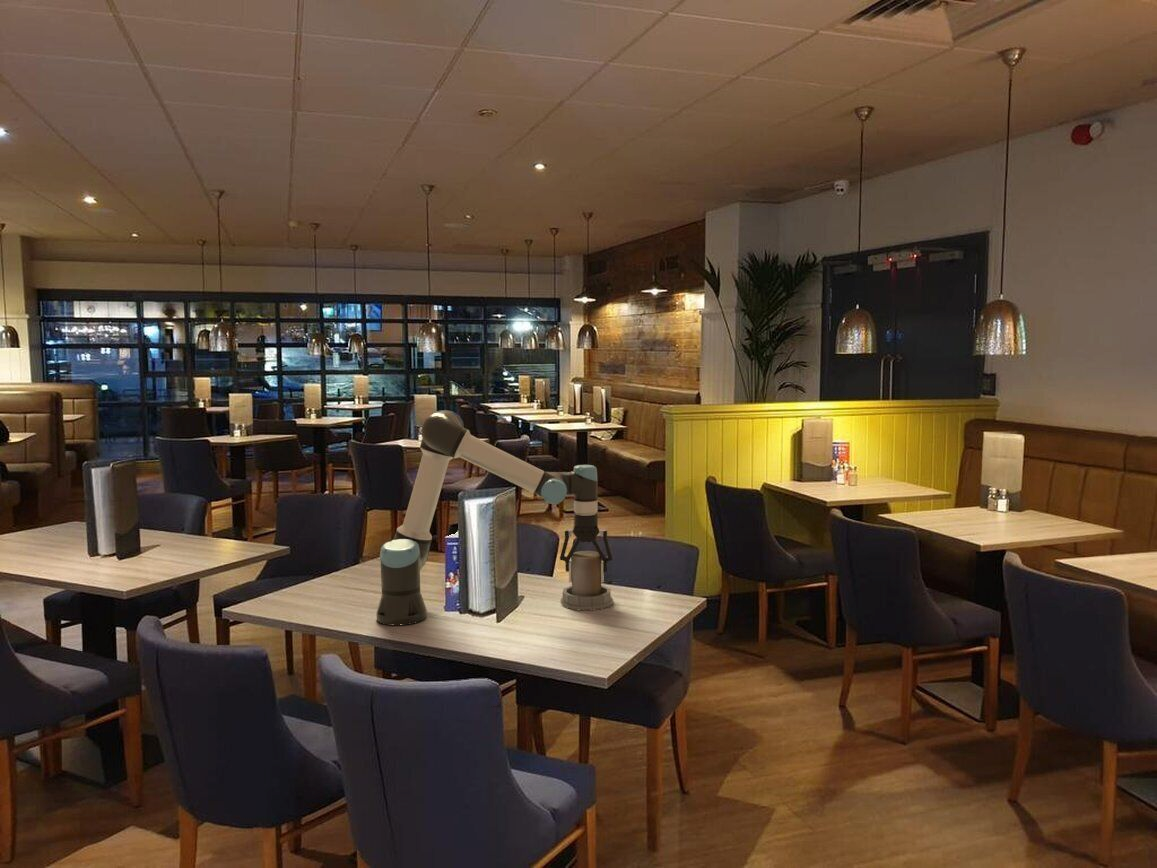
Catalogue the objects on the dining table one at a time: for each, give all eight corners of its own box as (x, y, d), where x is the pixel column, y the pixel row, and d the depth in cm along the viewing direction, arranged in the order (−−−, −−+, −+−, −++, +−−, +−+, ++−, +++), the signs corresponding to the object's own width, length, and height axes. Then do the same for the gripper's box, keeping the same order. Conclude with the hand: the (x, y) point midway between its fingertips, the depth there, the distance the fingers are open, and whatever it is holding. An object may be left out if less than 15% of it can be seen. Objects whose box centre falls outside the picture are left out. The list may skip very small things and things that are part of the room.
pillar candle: (602, 591, 278) (601, 546, 277) (600, 600, 268) (599, 553, 267) (573, 591, 279) (572, 546, 278) (570, 599, 269) (569, 553, 268)
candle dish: (612, 610, 265) (612, 598, 264) (558, 610, 266) (558, 597, 265) (613, 595, 282) (613, 583, 281) (562, 595, 283) (562, 583, 282)
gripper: (620, 511, 274) (620, 578, 276) (552, 511, 275) (553, 578, 277) (620, 515, 267) (620, 584, 269) (550, 515, 268) (551, 584, 270)
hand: (586, 581), depth 273 cm, fingers closed on pillar candle, 10 cm apart
